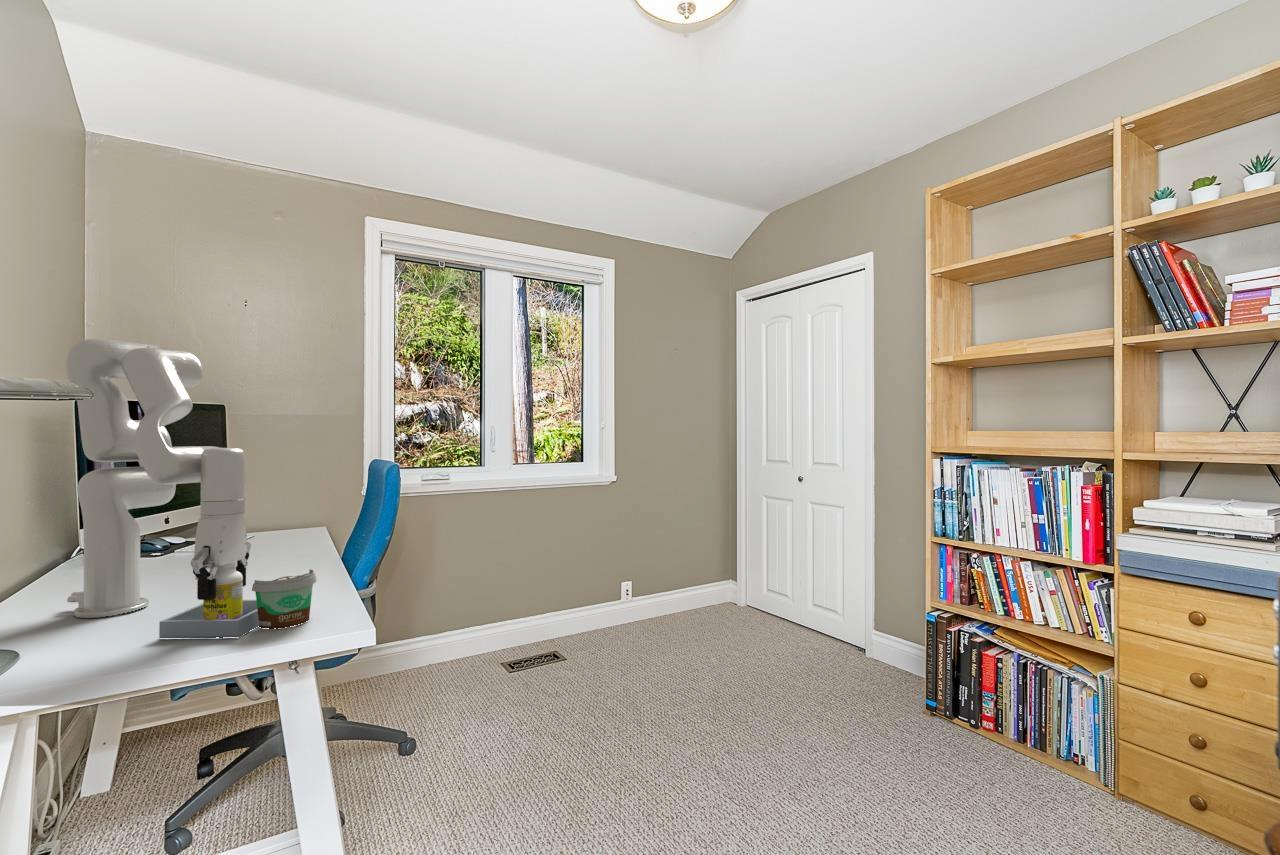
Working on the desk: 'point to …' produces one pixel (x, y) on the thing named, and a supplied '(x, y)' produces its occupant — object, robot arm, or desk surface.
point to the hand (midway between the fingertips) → (222, 592)
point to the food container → (284, 600)
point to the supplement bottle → (226, 595)
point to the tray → (209, 624)
